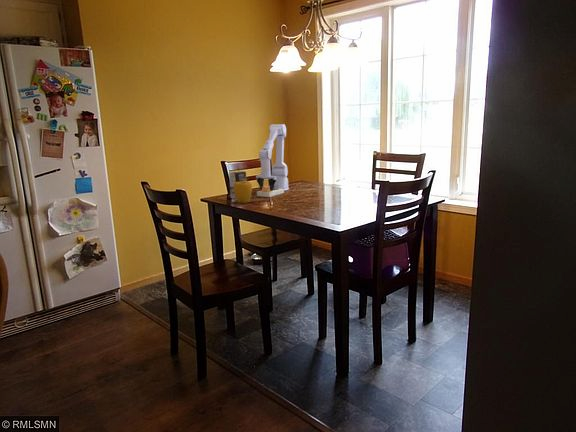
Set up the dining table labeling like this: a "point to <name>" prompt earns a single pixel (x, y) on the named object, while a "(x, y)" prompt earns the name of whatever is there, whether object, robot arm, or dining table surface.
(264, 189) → the plug
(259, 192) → the white rectangular base
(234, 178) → the coffee box
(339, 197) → the dining table surface
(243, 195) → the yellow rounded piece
